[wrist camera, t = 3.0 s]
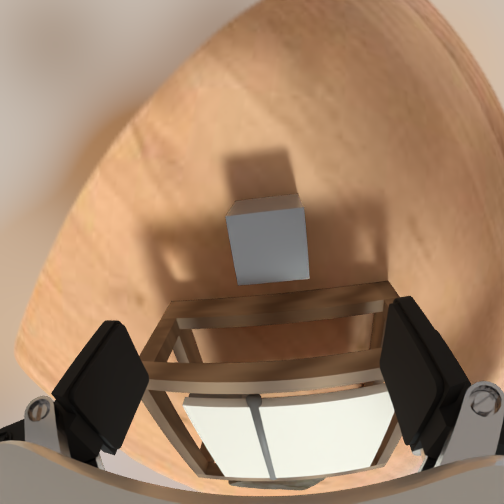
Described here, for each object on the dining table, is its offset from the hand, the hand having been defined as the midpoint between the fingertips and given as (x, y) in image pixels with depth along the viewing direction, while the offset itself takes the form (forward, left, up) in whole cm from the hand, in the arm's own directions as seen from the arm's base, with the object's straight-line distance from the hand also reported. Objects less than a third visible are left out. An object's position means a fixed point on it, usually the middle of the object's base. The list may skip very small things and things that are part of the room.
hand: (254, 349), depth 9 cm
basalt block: (0, 0, -15) cm, 15 cm away
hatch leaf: (-1, +16, -9) cm, 18 cm away
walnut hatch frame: (0, +16, -15) cm, 22 cm away
